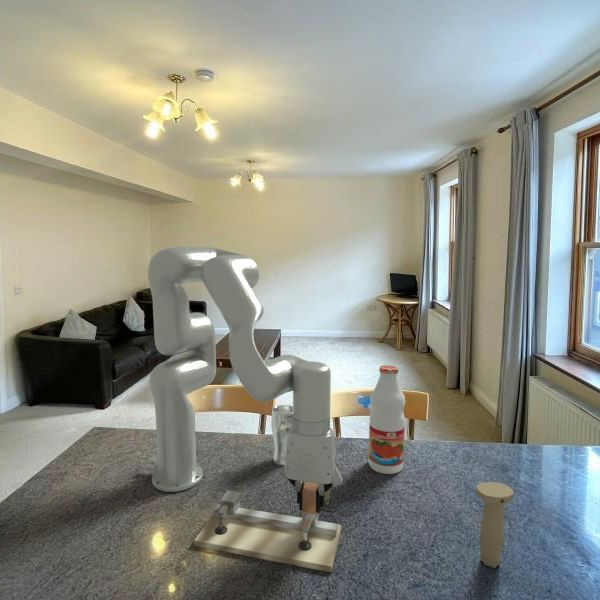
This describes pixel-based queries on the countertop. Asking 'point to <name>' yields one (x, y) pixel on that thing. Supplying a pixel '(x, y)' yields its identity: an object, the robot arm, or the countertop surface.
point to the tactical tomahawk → (327, 495)
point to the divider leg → (309, 508)
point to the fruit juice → (387, 423)
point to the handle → (493, 520)
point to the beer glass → (280, 431)
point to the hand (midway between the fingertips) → (310, 507)
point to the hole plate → (268, 536)
